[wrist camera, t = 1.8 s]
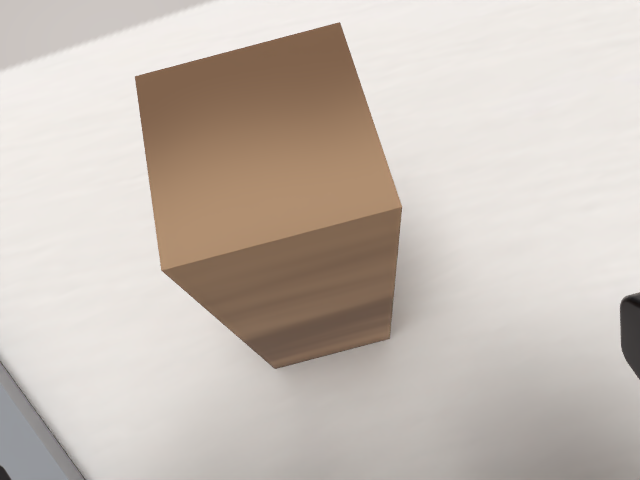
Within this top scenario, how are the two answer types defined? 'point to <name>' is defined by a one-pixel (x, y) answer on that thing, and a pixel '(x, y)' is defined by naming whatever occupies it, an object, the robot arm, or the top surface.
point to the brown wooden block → (274, 194)
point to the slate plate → (28, 439)
